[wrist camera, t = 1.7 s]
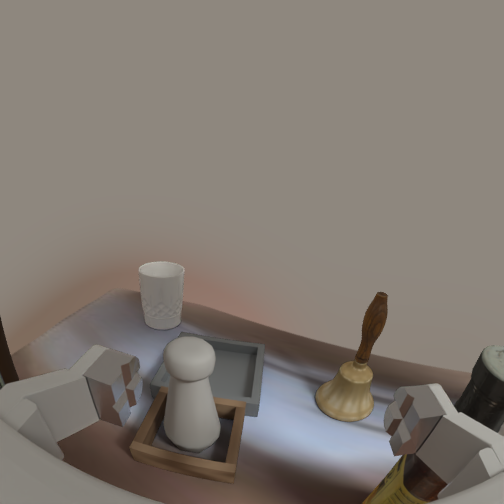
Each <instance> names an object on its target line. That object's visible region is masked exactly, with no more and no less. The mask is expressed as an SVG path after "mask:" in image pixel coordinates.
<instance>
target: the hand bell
mask: <svg viewBox="0 0 504 504" xmlns="http://www.w3.org/2000/svg"><path fill="white" fill-rule="evenodd" d="M387 296H388V295H387V294H386V293H383V292H378V293H377V294H376V296H375V298H374V300H373V301H372V303H371V304H370V306H369V307H368V309H367V311H366V313H365V316H364V320H363V325H362V340H361V344H360V347H359V349H358V352H357V355H356V356H355V359H354V361H349V362H346V363H344V364H343V365H342V366H341V367H340V369H339V371H338V373H337V375H336V376H335V377H334V379H333V380H331V381H328V382H326V383H324V384H323V385H322V386H320V387H319V389H318V390H317V392H316V402H317V405H318V406H319V408H320V409H321V410H322V411H323V412H324V413H325V414H326V415H328V416H330V417H332V418H334V419H337V420H340V421H346V422H353V421H359V420H362V419H364V418H366V417H367V416H369V415H370V413H371V412H372V410H373V407H374V400H373V397H372V395H371V393H370V385H371V381H372V378H373V373H372V370H371V369H370V368H369V367H368V366H367V362H368V360H369V357H370V353H371V350H372V347H373V345H374V343H375V341H376V340H377V338H378V337H379V336H380V334H381V332H382V330H383V328H384V325H385V322H386V318H387Z"/></svg>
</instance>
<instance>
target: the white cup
mask: <svg viewBox="0 0 504 504" xmlns="http://www.w3.org/2000/svg"><path fill="white" fill-rule="evenodd" d="M139 281H140V292H141V301H142V308H143V311H144V320H145V323H146V324H147V325H148V326H149V327H151V328H154V329H158V330H167V329H171V328H175V327H176V326H178V325H179V324H180V321H181V309H182V300H183V285H184V268H183V267H182V266H181V265H178V264H175V263H171V262H151V263H146V264H144V265H142V266H140V267H139Z"/></svg>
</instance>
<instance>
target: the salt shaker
mask: <svg viewBox="0 0 504 504" xmlns="http://www.w3.org/2000/svg"><path fill="white" fill-rule="evenodd" d="M163 359H164V364H165V368H166V370H167V372H168V373H169V374H170V381H169V388H168V395H167V402H166V409H165V417H164V428H165V432H166V435H167V437H168V438H169V439H170V440H171V441H172V442H173V443H174V444H175V445H176V446H177V447H178V448H179V449H180V450H183V451H188V452H193V453H200V452H202V451H203V450H205V449H207V448H208V447H210V446H211V445H212V444H213V443H214V442H215V441H216V440H217V439H218V438H219V434H220V428H221V425H220V421H219V418H218V414H217V410H216V407H215V403H214V399H213V395H212V391H211V387H210V383H209V378H208V376H209V375H211V374H212V372H213V370H214V366H215V360H216V357H215V352H214V350H213V347H212V345H210V344H209V343H207V342H206V341H204V340H203V339H200V338H197V337H188V336H185V337H180V338H176V339H174V340H173V341H171V342H170V343H168V344H167V346H166V347H165V349H164V353H163Z"/></svg>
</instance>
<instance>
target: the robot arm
mask: <svg viewBox="0 0 504 504" xmlns="http://www.w3.org/2000/svg"><path fill="white" fill-rule="evenodd" d="M139 368H140V364H139V359H138V358H137V357H135V356H132V355H129V354H126V353H122V352H119V351H116V350H113V349H109V348H106V347H103V346H101V345H98V344H97V345H93V346H92V347H91V348H90V349H89V350H88V351H87V352H86V353H85V354H84V355H83V356H82V357H81V358H80V359H79V360H78V361H77V362H76V363H75V364H74V365H73V366H72V367H71V368H70V369H69V370H67V369H61V370H58V371H54V372H51V373H47V374H43V375H40V376H36V377H32V378H28V379H24V380H20V381H16V382H12V383H8V384H6V385H5V386H4V387H3V388H2V389H1V390H0V504H165V503H162V502H158V501H155V500H152V499H149V498H146V497H143V496H140V495H137V494H134V493H131V492H129V491H126V490H123V489H121V488H118V487H116V486H113V485H111V484H109V483H106V482H104V481H102V480H100V479H97V478H95V477H93V476H91V475H89V474H87V473H85V472H83V471H81V470H79V469H77V468H75V467H73V466H71V465H69V464H68V463H66V462H64V461H62V460H63V458H64V454H63V452H62V450H61V449H60V447H59V446H58V444H57V442H58V441H60V440H62V439H64V438H66V437H68V436H70V435H72V434H74V433H76V432H78V431H80V430H82V429H84V428H86V427H88V426H90V425H91V424H93V423H95V422H97V421H99V419H101V420H104V421H106V422H109V423H112V424H115V425H118V426H121V427H123V426H124V424H125V423H126V421H127V419H128V418H129V416H130V414H131V411H130V407H132V406H134V405H136V404H137V403H138V401H139V399H140V396H141V393H142V378H141V377H140V375H139V374H138V373H137V371H138V370H139ZM394 399H395V401H394V402H393V403H391V404H390V405H389V406H388V408H387V410H386V412H385V416H384V427H385V430H386V432H387V433H388V434H390V435H391V436H392V437H391V439H390V441H389V442H390V445H391V448H392V451H393V454H394V456H399V455H407V454H414V453H416V455H417V456H418V457H419V458H420V459H421V460H422V461H423V462H424V463H425V464H426V465H427V466H428V467H430V468H431V469H432V470H433V471H434V472H435V473H436V474H437V475H438V476H439V477H440V478H441V479H442V480H444V481H445V482H446V483H447V484H448V485H447V486H446V487H445V488H444V489H442V490H441V491H440V492H439V494H438V495H437V496H438V499H439V500H436V501H432V502H429V503H426V504H504V423H503V424H502V426H501V429H500V431H499V432H498V433H496V432H495V431H493V430H491V429H489V428H487V427H486V426H484V425H482V424H481V423H479V422H477V421H475V420H474V419H472V418H470V417H468V416H467V415H465V414H463V413H462V412H460V413H458V412H457V410H456V409H455V407H454V406H453V404H452V402H451V401H450V399H449V398H448V396H447V394H446V393H445V391H444V390H443V388H442V387H441V385H439V384H437V383H435V384H426V385H418V386H403V387H399V388H398V389H397V390H396V392H395V394H394Z"/></svg>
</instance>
